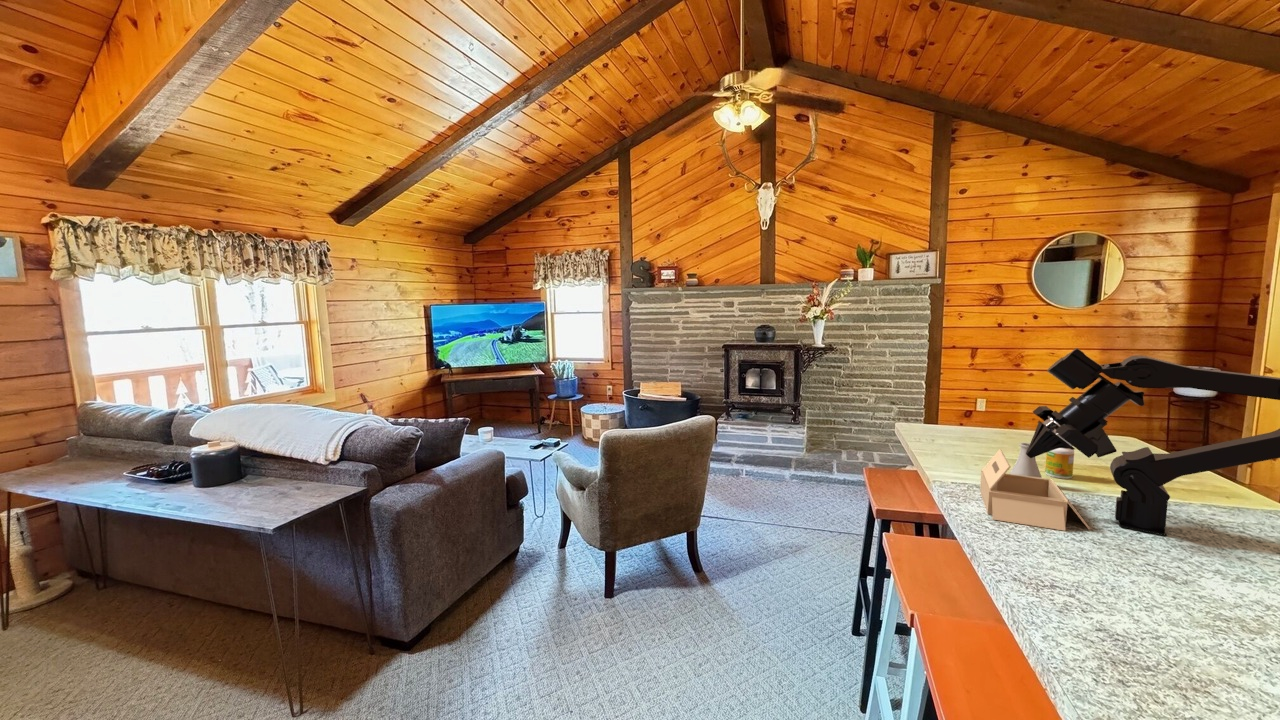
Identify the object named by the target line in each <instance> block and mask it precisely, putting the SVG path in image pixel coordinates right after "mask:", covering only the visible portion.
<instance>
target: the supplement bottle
mask: <svg viewBox="0 0 1280 720" xmlns="http://www.w3.org/2000/svg"><path fill="white" fill-rule="evenodd" d="M1045 454H1046V455H1045V466H1044V467H1045V468H1044V473H1045V475H1047V476H1048V477H1051V478H1056V479H1062V480H1068V479H1072V478H1073V473H1074V461H1075V449H1074V450H1071V449H1067V448H1058V449H1055V450H1052V451H1049V452H1046V453H1045Z"/></svg>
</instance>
